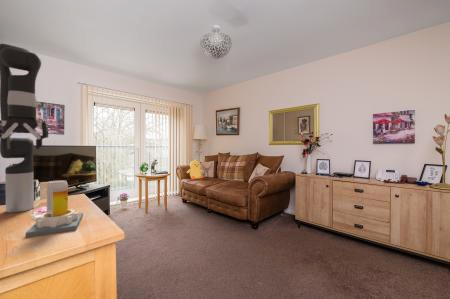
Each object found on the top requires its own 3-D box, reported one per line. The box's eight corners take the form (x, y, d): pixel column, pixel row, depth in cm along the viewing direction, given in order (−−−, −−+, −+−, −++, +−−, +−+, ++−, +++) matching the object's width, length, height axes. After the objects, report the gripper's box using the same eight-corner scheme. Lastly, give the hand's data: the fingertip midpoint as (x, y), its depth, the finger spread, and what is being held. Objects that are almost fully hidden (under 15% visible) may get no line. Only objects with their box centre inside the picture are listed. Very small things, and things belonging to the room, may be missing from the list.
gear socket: (41, 221, 81) (41, 210, 81) (83, 215, 88) (82, 205, 87) (25, 237, 67) (25, 223, 67) (76, 229, 73) (76, 217, 73)
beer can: (71, 218, 80) (71, 180, 80) (57, 224, 74) (57, 183, 73) (57, 217, 81) (57, 179, 80) (42, 223, 75) (42, 182, 74)
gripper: (49, 108, 83) (50, 148, 83) (0, 104, 76) (1, 148, 76) (44, 106, 76) (45, 149, 77) (-11, 101, 69) (-10, 149, 70)
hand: (23, 149), depth 77 cm, fingers open, 8 cm apart
